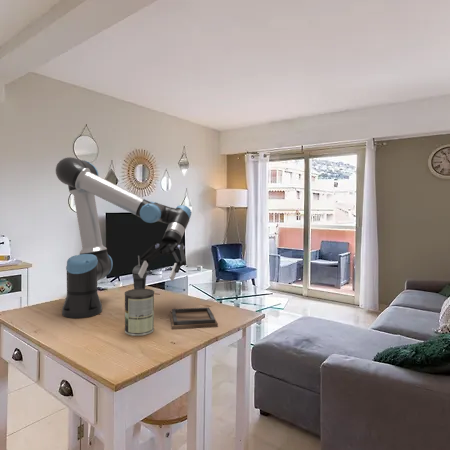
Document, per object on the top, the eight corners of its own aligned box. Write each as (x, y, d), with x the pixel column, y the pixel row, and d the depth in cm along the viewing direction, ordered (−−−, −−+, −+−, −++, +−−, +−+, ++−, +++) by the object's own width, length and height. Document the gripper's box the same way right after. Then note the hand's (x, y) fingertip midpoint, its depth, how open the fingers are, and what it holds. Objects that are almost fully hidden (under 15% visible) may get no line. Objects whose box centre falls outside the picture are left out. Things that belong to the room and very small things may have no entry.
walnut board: (169, 314, 139) (169, 308, 139) (210, 312, 143) (210, 306, 143) (171, 329, 123) (171, 322, 123) (217, 326, 126) (217, 320, 126)
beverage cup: (136, 299, 160) (136, 257, 159) (129, 295, 166) (129, 255, 165) (149, 296, 165) (150, 256, 164) (142, 293, 171) (143, 254, 169)
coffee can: (118, 331, 120) (118, 292, 119) (141, 323, 128) (141, 286, 127) (137, 338, 114) (137, 297, 113) (160, 329, 122) (160, 291, 121)
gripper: (202, 242, 142) (187, 285, 129) (150, 239, 150) (131, 280, 137) (198, 230, 137) (181, 274, 124) (144, 228, 145) (123, 269, 131)
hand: (155, 277), depth 130 cm, fingers open, 13 cm apart
